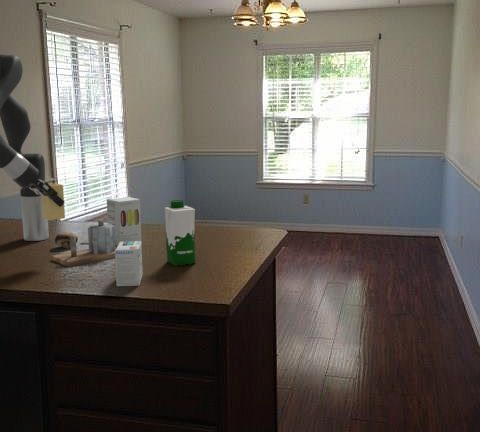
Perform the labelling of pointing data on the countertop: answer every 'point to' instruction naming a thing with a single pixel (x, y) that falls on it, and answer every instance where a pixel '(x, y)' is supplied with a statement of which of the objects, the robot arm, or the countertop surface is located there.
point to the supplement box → (125, 218)
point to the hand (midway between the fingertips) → (58, 203)
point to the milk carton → (180, 233)
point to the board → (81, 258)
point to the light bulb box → (128, 263)
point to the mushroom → (64, 239)
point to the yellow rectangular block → (53, 205)
